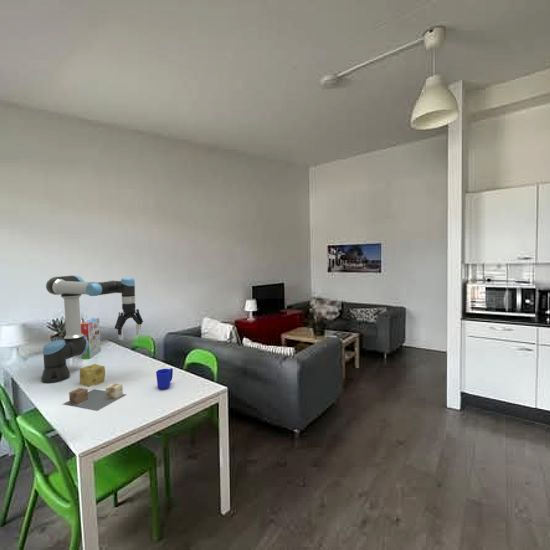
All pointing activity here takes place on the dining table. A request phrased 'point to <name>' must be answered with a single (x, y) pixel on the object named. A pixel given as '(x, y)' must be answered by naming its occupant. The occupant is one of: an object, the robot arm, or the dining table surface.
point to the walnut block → (78, 396)
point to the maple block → (114, 391)
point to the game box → (91, 337)
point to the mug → (164, 378)
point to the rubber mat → (95, 400)
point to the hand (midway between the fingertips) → (129, 337)
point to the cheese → (92, 375)
